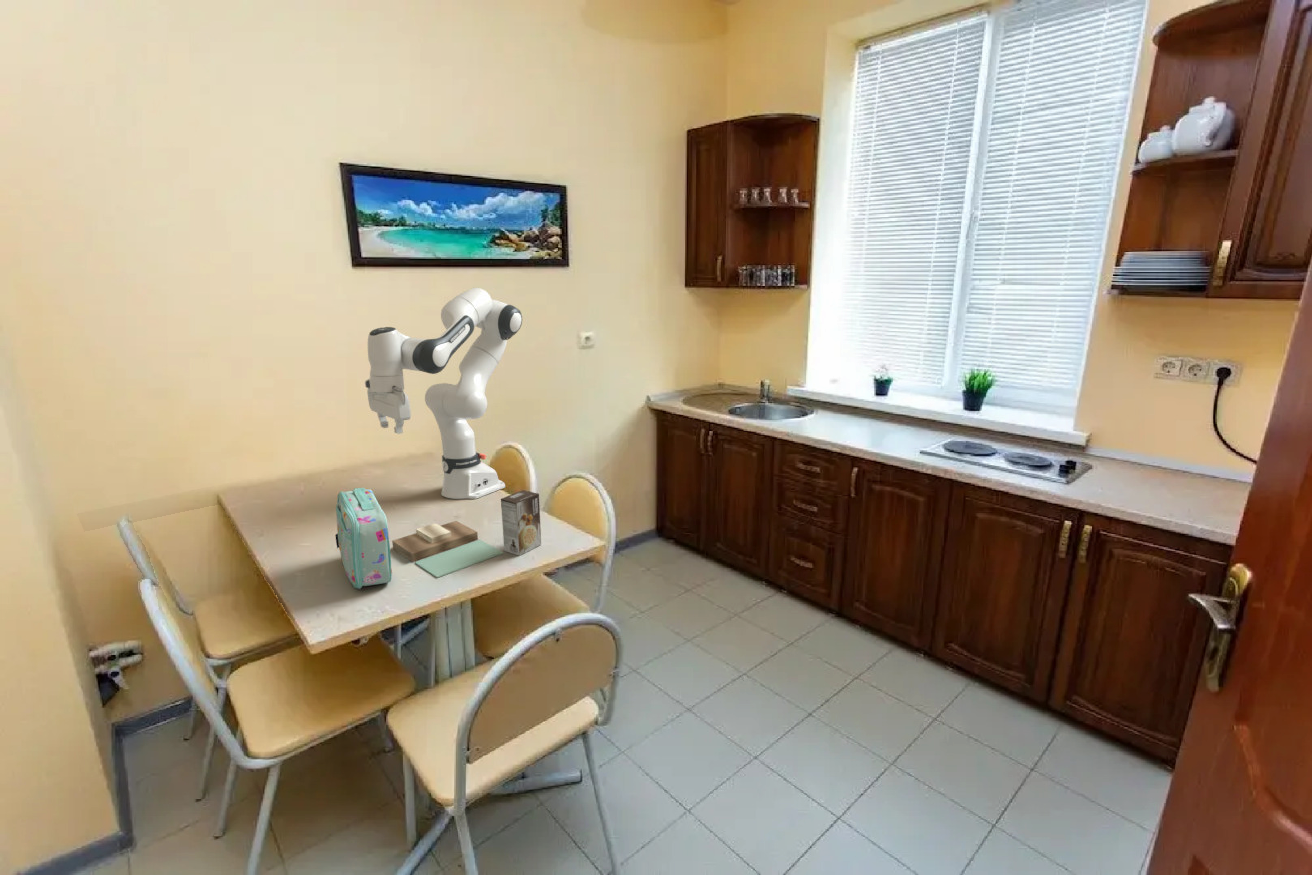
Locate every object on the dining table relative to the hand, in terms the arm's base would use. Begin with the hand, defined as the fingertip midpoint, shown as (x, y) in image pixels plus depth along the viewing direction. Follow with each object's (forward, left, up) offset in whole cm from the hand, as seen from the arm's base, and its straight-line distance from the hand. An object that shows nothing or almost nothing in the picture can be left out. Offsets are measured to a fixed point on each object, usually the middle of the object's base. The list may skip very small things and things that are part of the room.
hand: (391, 430), depth 179 cm
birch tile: (-1, +18, -28) cm, 33 cm away
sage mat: (-1, +32, -31) cm, 45 cm away
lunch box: (+20, +21, -31) cm, 43 cm away
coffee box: (-17, +39, -31) cm, 53 cm away
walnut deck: (-1, +19, -31) cm, 36 cm away
